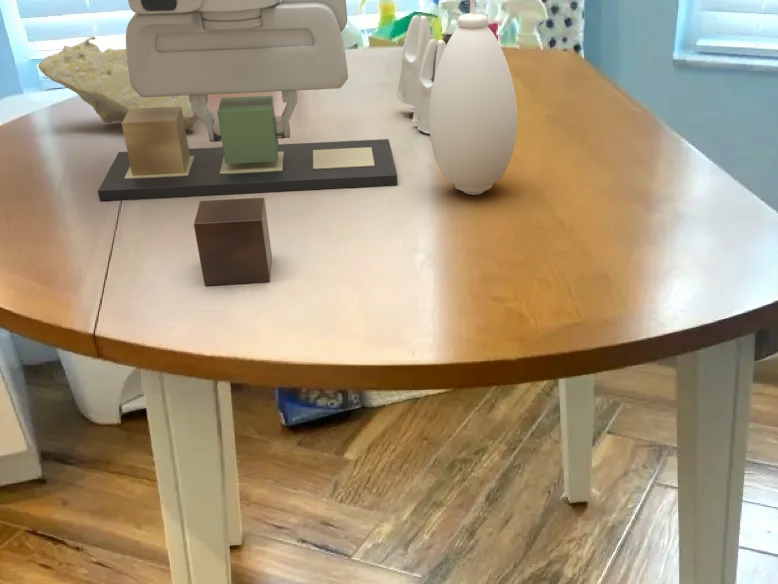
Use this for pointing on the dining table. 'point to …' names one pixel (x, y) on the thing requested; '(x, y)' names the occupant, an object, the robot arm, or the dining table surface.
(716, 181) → the dining table surface
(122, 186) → the word board
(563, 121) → the dining table surface
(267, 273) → the walnut block
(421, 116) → the shaker set
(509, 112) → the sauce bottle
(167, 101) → the beige rock
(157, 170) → the maple block
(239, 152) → the green block
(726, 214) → the dining table surface
